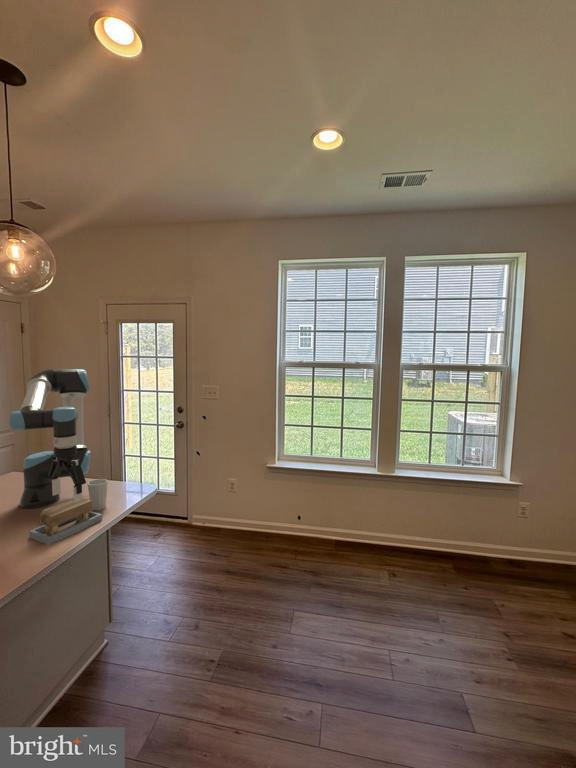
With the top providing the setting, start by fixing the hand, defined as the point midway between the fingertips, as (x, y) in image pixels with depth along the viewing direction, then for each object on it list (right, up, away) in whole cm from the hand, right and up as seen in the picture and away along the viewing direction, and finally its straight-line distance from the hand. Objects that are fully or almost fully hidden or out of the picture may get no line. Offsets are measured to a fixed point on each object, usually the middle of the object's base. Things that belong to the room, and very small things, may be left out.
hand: (67, 497), depth 130 cm
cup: (+1, -12, +20) cm, 23 cm away
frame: (0, -12, 0) cm, 12 cm away
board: (0, -8, 0) cm, 7 cm away
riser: (-11, -12, +12) cm, 20 cm away
